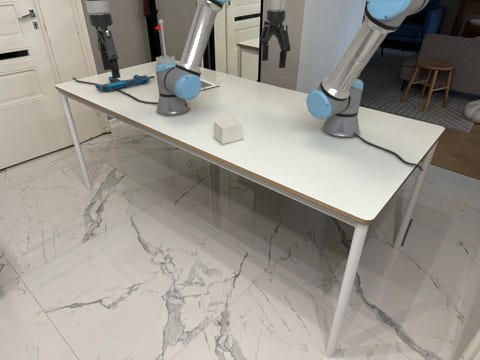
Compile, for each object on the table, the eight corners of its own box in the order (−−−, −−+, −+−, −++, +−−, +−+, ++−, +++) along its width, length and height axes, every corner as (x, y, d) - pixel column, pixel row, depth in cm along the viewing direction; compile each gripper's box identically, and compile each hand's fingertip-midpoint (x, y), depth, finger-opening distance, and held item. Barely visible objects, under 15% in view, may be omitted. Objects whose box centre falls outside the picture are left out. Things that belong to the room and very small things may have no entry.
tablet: (161, 80, 212) (161, 79, 212) (189, 74, 223) (188, 73, 223) (190, 93, 191) (190, 92, 191) (218, 85, 203) (218, 85, 202)
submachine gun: (140, 69, 223) (158, 75, 206) (141, 75, 225) (159, 81, 208) (87, 79, 204) (103, 87, 188) (89, 85, 206) (105, 94, 190)
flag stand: (173, 62, 249) (168, 17, 233) (177, 66, 239) (172, 20, 223) (155, 64, 245) (149, 18, 229) (158, 68, 235) (152, 21, 219)
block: (241, 139, 143) (241, 123, 139) (222, 144, 139) (222, 128, 135) (232, 132, 148) (232, 117, 144) (214, 137, 144) (213, 121, 140)
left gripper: (119, 16, 113) (131, 80, 125) (102, 9, 131) (113, 65, 142) (96, 18, 110) (110, 83, 121) (81, 10, 128) (95, 67, 139)
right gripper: (302, 13, 129) (297, 70, 141) (267, 6, 147) (265, 56, 159) (286, 14, 126) (282, 72, 138) (252, 7, 144) (251, 58, 156)
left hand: (112, 73), depth 132 cm, fingers open, 13 cm apart
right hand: (273, 64), depth 148 cm, fingers open, 13 cm apart
